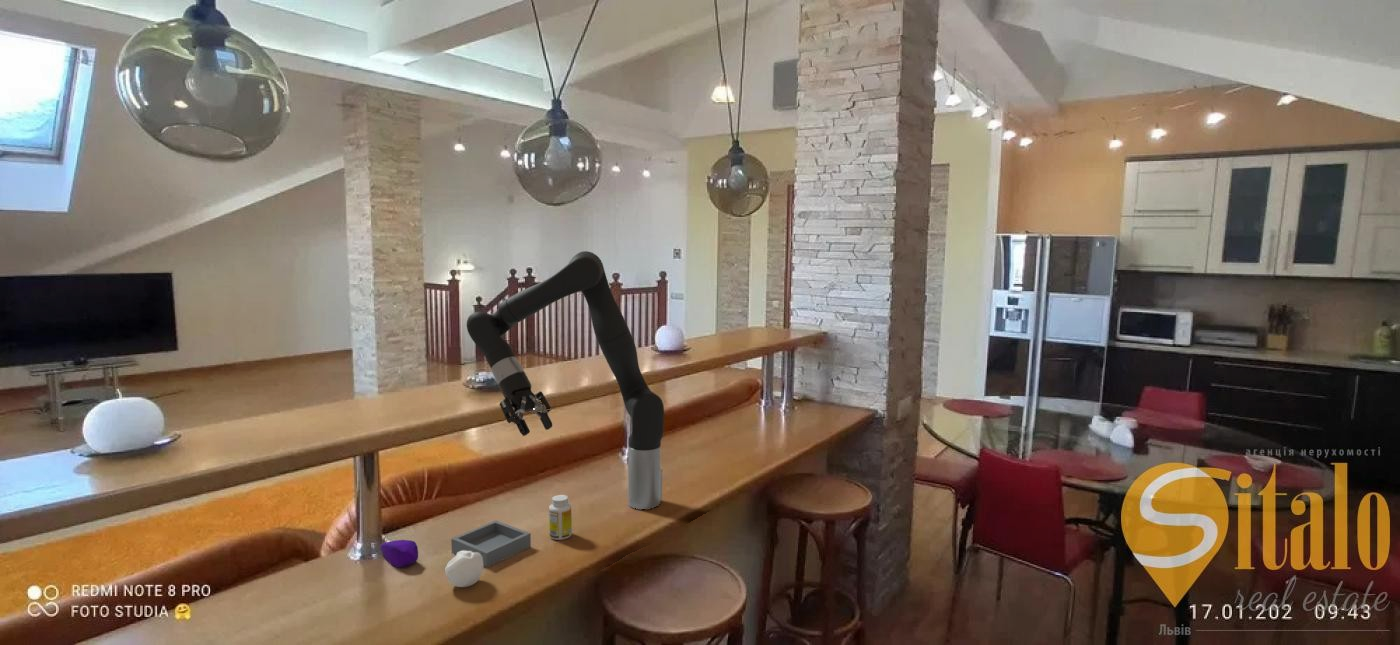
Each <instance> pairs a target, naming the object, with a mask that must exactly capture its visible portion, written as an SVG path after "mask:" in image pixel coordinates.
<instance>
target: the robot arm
mask: <svg viewBox="0 0 1400 645" xmlns="http://www.w3.org/2000/svg"><path fill="white" fill-rule="evenodd" d="M608 281H609V280H608V279H607V274H606V271H605V267H604V264H603V262H602V260H601V258H600V257H599V256H598V255H597V254H595V253H593V252H590V251H586V250H585V251H583V250H582V251H580V252H577V253H576V254H575V255H574V256H572V258H570V260H569V262H568V263H567V264H566V265H565V266H564V267H563V268H561V269H560V270H559V271H557V272H556V273H554V275H552V276H550V277H548V278H546V279H545V280H543V281H541V282H539V283H536V284H535V285H532V286H529V287H527V288H525V289H523V290H520V291H518V292H517V293H515V294H513V295H511V296H509V297H508V298H506V299H504V300H502V301H501V302H500V303H499V305H498V309H497V310H496V311H494V312H493V313H487V312H485V311H474V312H472V313H471V314H470V315H469V316H468V317H467V320H466V330H467V333H468V335H469V337H470V339H471V340H472V341H473V343H474V344H475V345H476V347H478V349H479V350H480V352H482V354H483V355H484V357H485V359H486V362H487V363H488V366H489V367H490V369H491V372H492V375H493V377H494V379H495V382H496V384H497V385H498V387H499V389H500V391H501V394H502V395H503V397H504V399H502V401H500V402H499V406H500V409H501V411H502V414H503V416H504V417H505V420H506V419H507V420H506V421H507V423H509V424H510V423H513V424H514V425H516V427H517V429H518V431H519V433H520V434H521V435H522V437H525V436H527V435H529V434H530V432H531V431H530V428H529V426H528V425H527V422H526V421H525V418H524V414H525V413H532V414H533V415H534V414H535V415H536V416H538V417H539V420H540V422H541V423H542V427H544V429H545V430H546V431H549V430H550V429H551V428H552V427H553V422H552V420H551V419H550V416H549V414H548V413H550V411H551V410H546V409H550V408H551V409H552V407H551V405H550V404H549V402H548V400H547V398H546V397H545V395H544V393H543V391H538V392H537V393H534V392H533V391H532V384H531V381H530V380H529V378H528V375H527V374H526V371H525V370H524V368H523V366H522V364H521V363H520V361H519V360H518V358H517V357H516V355H515V353H514V351H513V349H512V347H511V345H510V344H509V343H508V342H507V341H506V340H504V338H502V336H504V335H505V334H506V333H507V332H508V331H510V330H511V329H512V328H513V327H514V326H515V325H516V324H519V323H521V322H522V321H523V320H525V319H527V318H529V317H531V316H532V315H535V314H537V313H538V312H540V311H541V310H543V309H544V308H547V307H548V306H550V305H551V304H554V303H555V302H558V301H559V300H562V299H563V298H566V297H568V296H570V295H573V294H576V293H579V292H582V295H583V297H584V298H585V301H586V304H587V307H588V309H589V314H590V319H591V323H592V327H593V328H592V329H593V332H594V335H595V338H596V340H597V343H598V345H599V347H600V350H601V352H602V354H603V357H604V358H605V360H606V363H607V365H608V366H609V369H610V371H611V372H612V374H613V376H614V378H615V379H616V381H617V384H618V387H619V390H620V394H621V396H622V400H623V403H624V406H625V409H626V413H627V414H628V415H629V417H631V418H632V423H631V425H632V426H631V434H629V436H628V442H627V443H628V444H627V445H628V446H627V447H628V450H627V451H628V456H627V457H628V463H627V464H628V469H627V470H628V472H627V474H628V477H627V479H628V483H627V484H628V487H627V488H628V491H627V492H628V494H627V495H628V496H627V498H628V499H627V503H628V506H629V507H630V508H631V509H635V508H636V510H642V509H645V510H650V509H649V508H652V509H655V508H654V507H656V506H658V505H659V504H661V502H662V501H663V469H662V468H661V465H662V464H661V463H662V460H661V459H662V458H661V457H662V456H661V454H662V453H661V452H662V451H661V450H662V447H661V445H662V443H661V442H662V438H663V436H664V423H665V422H664V421H665V408H664V407H665V406H664V402H663V400H662V398H661V397H660V396H659V395H658V394H656V393H654V392H653V391H652V390H651V389H650V388H649V386H648V384H647V382H646V380H645V378H644V376H643V374H642V371H641V369H640V365H639V359H638V358H639V357H638V352H637V347H636V343H635V340H634V337H633V335H632V334H631V331H630V329H629V325H628V323H627V322H626V320H625V318H624V315H623V313H622V311H621V309H620V308H619V305H618V303H617V302H616V300H615V297H614V295H613V293H612V291H611V290H612V289H611V287H610V284H609V282H608ZM536 399H538V400H541V402H542V403H540V402H538V401H537V400H536ZM542 405H543V406H542ZM532 410H536V411H533V412H537V411H540V412H537V413H533V412H529V411H532ZM542 410H545V411H542ZM514 417H515V418H514ZM661 500H662V501H661ZM660 501H661V502H660ZM659 506H660V505H659ZM659 506H658V507H659ZM656 508H657V507H656Z"/></svg>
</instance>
